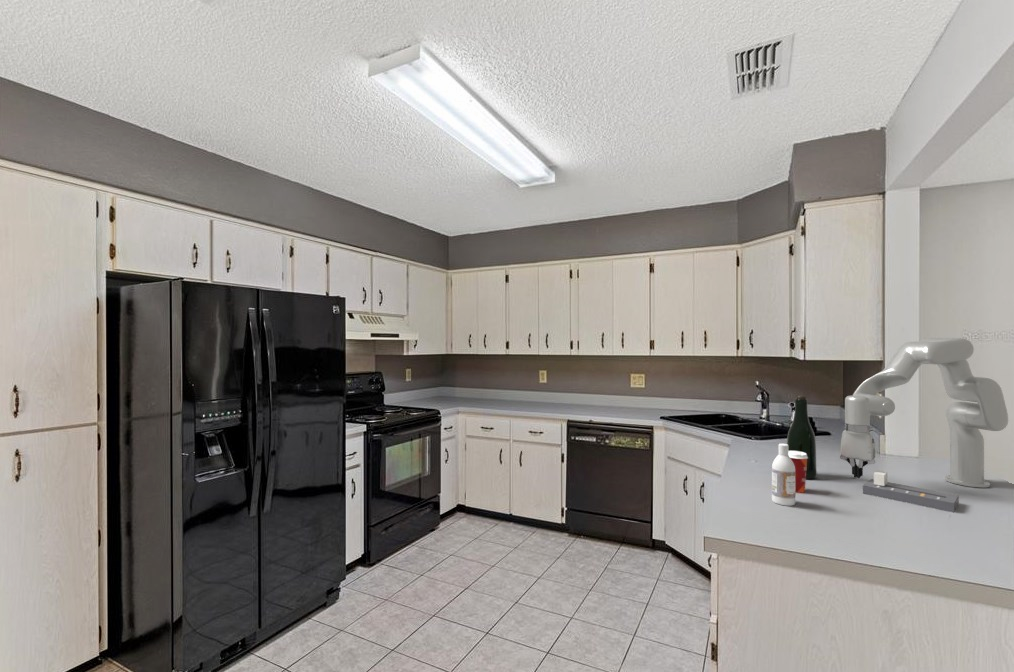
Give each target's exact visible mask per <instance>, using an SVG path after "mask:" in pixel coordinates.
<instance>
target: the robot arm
mask: <svg viewBox="0 0 1014 672" xmlns="http://www.w3.org/2000/svg"><path fill="white" fill-rule="evenodd" d="M974 351H975V349H974V345H973V343H972V342H971V340H969V339H967V338H963V337H926V338H922V339H920V340H919V341H907V342H904V343H903V344H902V345H900V346H899V348H898V349H897V351H896V352H895V353H894V355H893V357H891V358H890V360H889V362H888V363H887V364H886V366H885V368H884V369H883V370H881V371H879V372H877V373H876V374H874V375H872V376H871V377H869V378H866V379H865V380H864V381H863V382H861V384H860V385H859V386H858V387H857V388H856V389H855V390H854V392H853V394H852V395H847V396H846V397H845V398H844V430H842V434H841V439H840V451H839V453H840V456H839V459H841V460H843V461H846V462H847V463H848V464H849V465H850V466H851V475H853V478H854V479H855V478H857V479H860V478H861V477H863V476H864V475H863V474H864V473H863V472H864V469H863V468H864V467H865V466H867V465H875V464H876V459H875V458H876V446H875V438H874V434H873V433H872V432H875V431H876V428H875V427H872V425H871V416H878V417H887V416H890V415H892V414H893V412H895V409H896V404H895V402H894V401H893V400H892V399H891V398H889V397H886V396H883V395H878V393H880V392H882V391H885V390H887V389H890V388H894V387H899V386H902V385H905V384H907V383H909V382H910V381H911V379H912V378H913V376H914V375H915V373H916V372H917V371H918V369H919V368H920V366H922V365H937V366H938V368H939V370H940V374H941V378H942V380H943V381H942V382H943V386H944V389H945V394H946V395H947V396H948V397H949V398H951V399H953V400H957V401H956V402H953V403H951V404H949V405H948V406H947V408H946V410H945V411H946V412H945V413H946V415H945V416H946V418H947V422H948V428H949V475H945V476H944V480H945V481H946V482H949V483H952V484H955V485H960V486H963V487H964V486H965V487H969V488H970V487H972V488H985V489H986V488H989V487H991V484H990V482H989V481H987V480H985V438H984V437H983V434H982V432H981V430H983V431H984V430H985V431H988V432H989V431H991V432H1000V431H1003V430H1005V429H1006V428H1007V427H1008V423H1009V414H1008V410H1007V404H1006V401H1005V398H1004V394H1003V390H1002V388H1001V386H1000V384H999V383H998V382H997V381H996V380H994V379H991V378H988V377H982V376H980V377H979V376H974V375H973V372H972V370H971V367H970V364H969V362H968V359H969V358H971V357H972V356H973V354H974ZM857 460H858V464H857Z"/></svg>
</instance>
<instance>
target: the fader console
mask: <svg viewBox="0 0 1014 672" xmlns="http://www.w3.org/2000/svg"><path fill="white" fill-rule="evenodd" d="M862 494H864V495H867V496H873V497H877V496H878V498H882V497H883V498H882V499H887V498H888V500H892V499H893V500H892V501H897V502H901V501H902V503H906V502H907V504H910V505H911V504H913V505H917V506H921V505H922V506H921V507H925V506H926V508H931V509H936V510H941V511H945V512H949V513H950V512H951V513H955V512H956V509H957V508H958V506H959V504H960V501H959V500H960V499H959V498H960V497H959V494H954V493H949V492H944V491H938V490H933V489H926V488H922V487H918V486H917V487H916V486H911V485H906V484H900V483H895V482H889V481H887V484H886V485H885V486H881V485H876V484H874V478H870V479H869V480H868V481H866V482H865V483H864V484H862Z"/></svg>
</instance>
